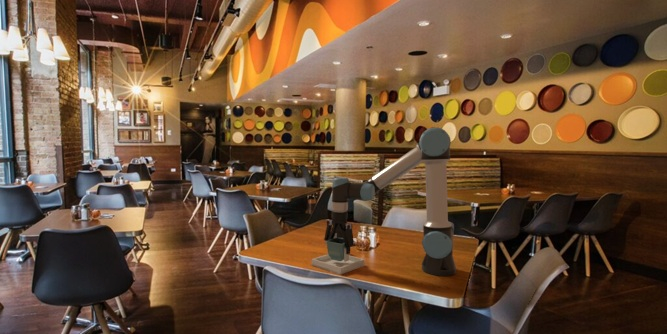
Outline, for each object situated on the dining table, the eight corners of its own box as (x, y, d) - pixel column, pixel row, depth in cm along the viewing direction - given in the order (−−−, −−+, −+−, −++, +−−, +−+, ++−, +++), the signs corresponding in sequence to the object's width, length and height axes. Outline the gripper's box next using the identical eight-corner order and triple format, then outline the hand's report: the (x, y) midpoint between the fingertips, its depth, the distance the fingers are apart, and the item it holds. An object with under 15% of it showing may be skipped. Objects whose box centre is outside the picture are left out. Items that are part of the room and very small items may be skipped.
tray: (364, 265, 171) (364, 259, 171) (340, 274, 158) (340, 268, 158) (335, 257, 183) (336, 251, 182) (311, 265, 169) (311, 259, 169)
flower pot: (341, 263, 164) (342, 244, 164) (325, 260, 169) (325, 240, 168) (351, 258, 171) (351, 240, 171) (335, 255, 176) (335, 237, 176)
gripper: (363, 213, 165) (361, 261, 166) (327, 206, 179) (326, 252, 180) (353, 215, 159) (351, 265, 160) (317, 208, 173) (316, 255, 174)
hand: (338, 258), depth 170 cm, fingers closed on flower pot, 9 cm apart
